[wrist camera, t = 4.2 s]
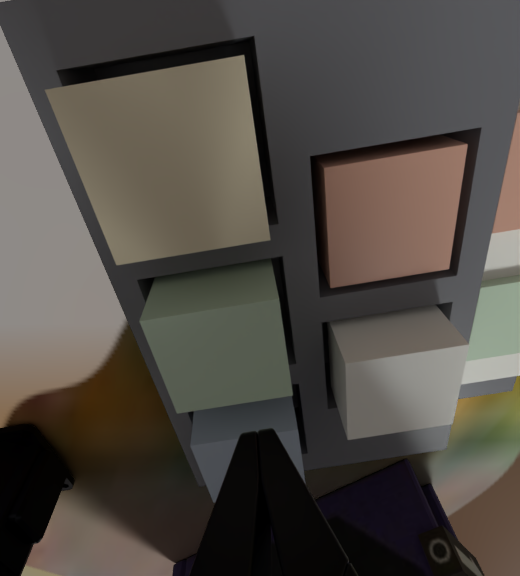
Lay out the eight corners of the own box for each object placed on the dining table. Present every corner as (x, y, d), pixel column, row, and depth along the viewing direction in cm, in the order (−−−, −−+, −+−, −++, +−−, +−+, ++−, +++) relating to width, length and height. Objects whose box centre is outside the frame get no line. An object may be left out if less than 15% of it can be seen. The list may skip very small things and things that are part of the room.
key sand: (139, 225, 13) (116, 265, 10) (90, 83, 10) (44, 89, 8) (262, 204, 13) (270, 240, 10) (240, 57, 10) (244, 55, 8)
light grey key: (330, 386, 18) (347, 440, 15) (326, 314, 15) (345, 363, 13) (420, 372, 18) (452, 424, 15) (429, 297, 15) (469, 344, 13)
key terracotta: (314, 252, 16) (330, 288, 13) (306, 148, 14) (324, 167, 11) (413, 236, 16) (449, 268, 13) (423, 129, 14) (467, 144, 11)
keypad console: (203, 424, 23) (198, 486, 20) (59, 21, 12) (-10, 4, 9) (501, 378, 23) (549, 433, 19) (636, -83, 12) (804, -143, 8)
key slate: (215, 445, 20) (213, 502, 17) (196, 389, 17) (190, 446, 15) (296, 433, 19) (306, 488, 17) (287, 375, 17) (297, 429, 15)
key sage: (185, 358, 16) (177, 413, 14) (156, 273, 14) (139, 321, 11) (283, 343, 16) (292, 395, 14) (270, 255, 14) (279, 299, 11)
